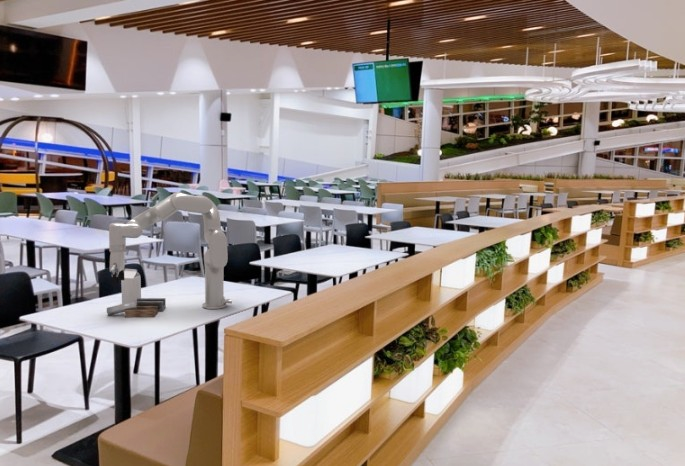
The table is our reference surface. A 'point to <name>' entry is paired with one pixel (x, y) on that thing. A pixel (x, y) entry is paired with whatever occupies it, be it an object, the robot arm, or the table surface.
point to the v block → (152, 302)
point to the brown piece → (142, 312)
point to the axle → (122, 308)
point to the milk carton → (131, 286)
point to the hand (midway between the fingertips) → (118, 282)
